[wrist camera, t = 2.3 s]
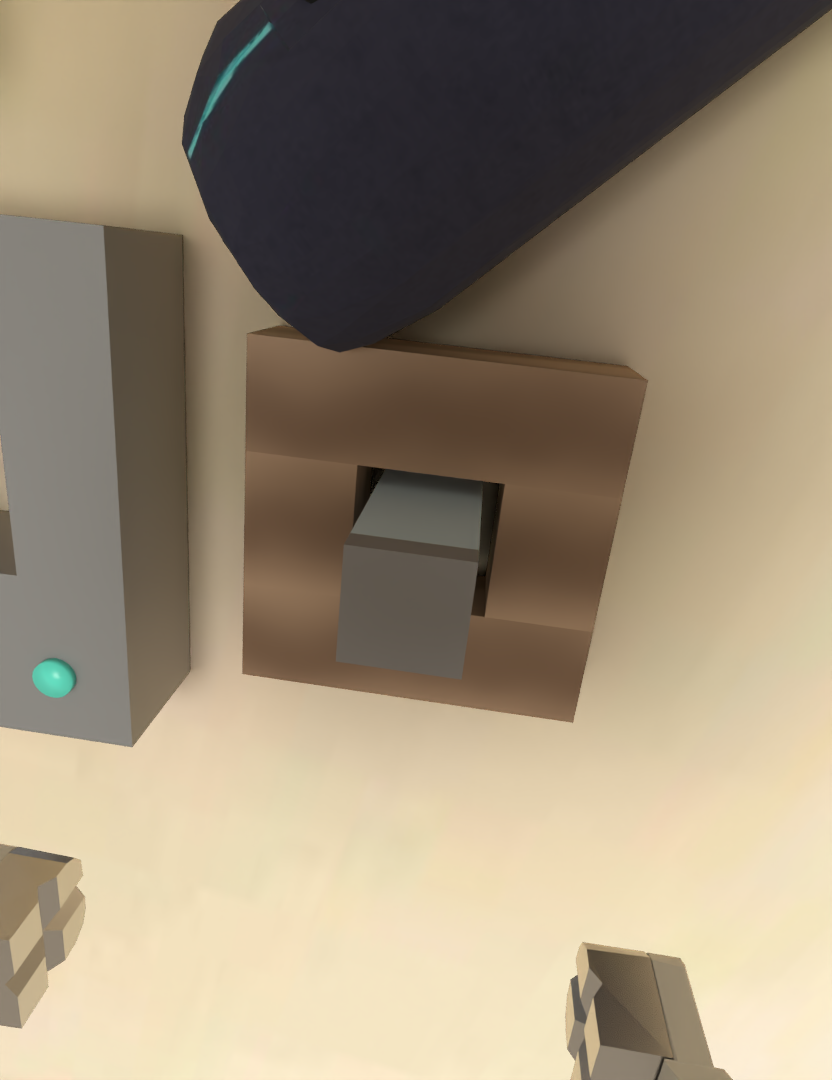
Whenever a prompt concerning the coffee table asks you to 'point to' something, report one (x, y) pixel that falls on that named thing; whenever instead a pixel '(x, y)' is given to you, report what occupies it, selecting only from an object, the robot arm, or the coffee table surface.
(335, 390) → the square wooden frame
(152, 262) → the port box
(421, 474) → the plug
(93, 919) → the coffee table surface
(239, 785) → the coffee table surface
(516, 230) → the portable speaker
